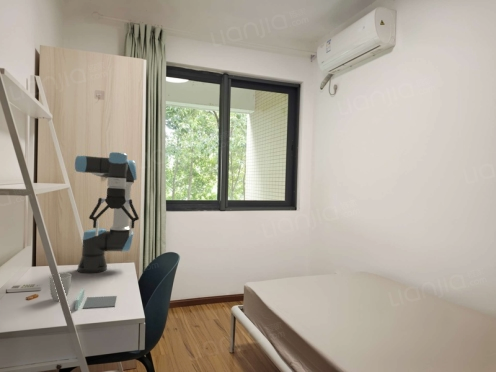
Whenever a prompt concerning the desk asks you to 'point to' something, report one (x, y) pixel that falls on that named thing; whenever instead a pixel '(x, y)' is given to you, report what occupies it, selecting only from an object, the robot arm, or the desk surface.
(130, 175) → the robot arm
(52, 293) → the cup
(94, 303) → the mat
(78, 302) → the wall
